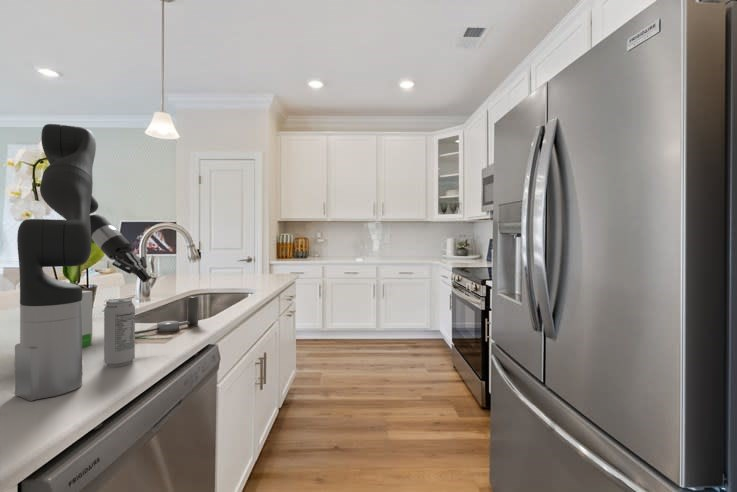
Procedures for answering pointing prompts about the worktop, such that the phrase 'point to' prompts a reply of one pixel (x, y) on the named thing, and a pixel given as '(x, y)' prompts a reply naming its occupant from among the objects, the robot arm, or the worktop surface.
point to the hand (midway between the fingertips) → (147, 280)
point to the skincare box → (86, 318)
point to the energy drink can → (119, 332)
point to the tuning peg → (174, 325)
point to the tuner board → (160, 335)
